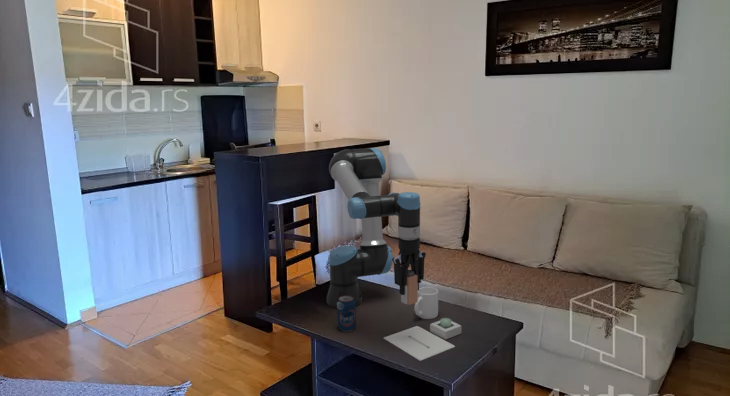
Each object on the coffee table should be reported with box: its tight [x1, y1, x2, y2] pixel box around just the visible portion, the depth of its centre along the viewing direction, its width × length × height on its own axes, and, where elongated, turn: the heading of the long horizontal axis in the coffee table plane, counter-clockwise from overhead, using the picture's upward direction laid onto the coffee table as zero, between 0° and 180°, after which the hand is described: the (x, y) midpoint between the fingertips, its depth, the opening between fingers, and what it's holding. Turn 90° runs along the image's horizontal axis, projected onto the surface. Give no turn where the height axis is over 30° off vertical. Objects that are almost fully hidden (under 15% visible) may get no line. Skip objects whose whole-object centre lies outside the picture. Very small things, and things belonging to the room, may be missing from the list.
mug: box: [413, 286, 439, 320], centre depth 198 cm, size 12×8×10 cm
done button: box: [439, 317, 452, 329], centre depth 184 cm, size 4×4×3 cm
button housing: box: [429, 320, 462, 341], centre depth 185 cm, size 8×8×3 cm
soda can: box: [336, 295, 357, 332], centre depth 189 cm, size 7×7×12 cm
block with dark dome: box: [406, 269, 417, 306], centre depth 178 cm, size 4×4×11 cm
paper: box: [383, 325, 456, 362], centre depth 178 cm, size 20×16×1 cm
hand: (409, 300), depth 179 cm, fingers closed on block with dark dome, 4 cm apart
